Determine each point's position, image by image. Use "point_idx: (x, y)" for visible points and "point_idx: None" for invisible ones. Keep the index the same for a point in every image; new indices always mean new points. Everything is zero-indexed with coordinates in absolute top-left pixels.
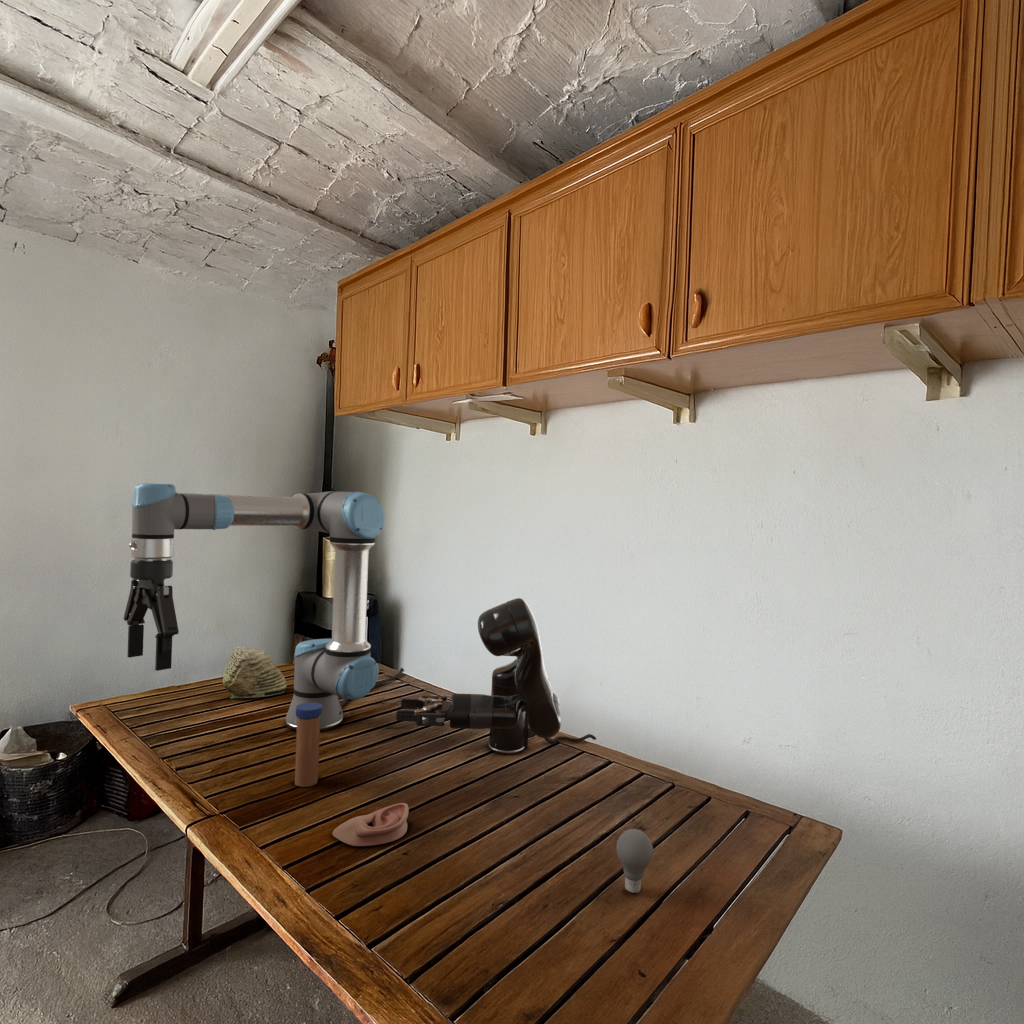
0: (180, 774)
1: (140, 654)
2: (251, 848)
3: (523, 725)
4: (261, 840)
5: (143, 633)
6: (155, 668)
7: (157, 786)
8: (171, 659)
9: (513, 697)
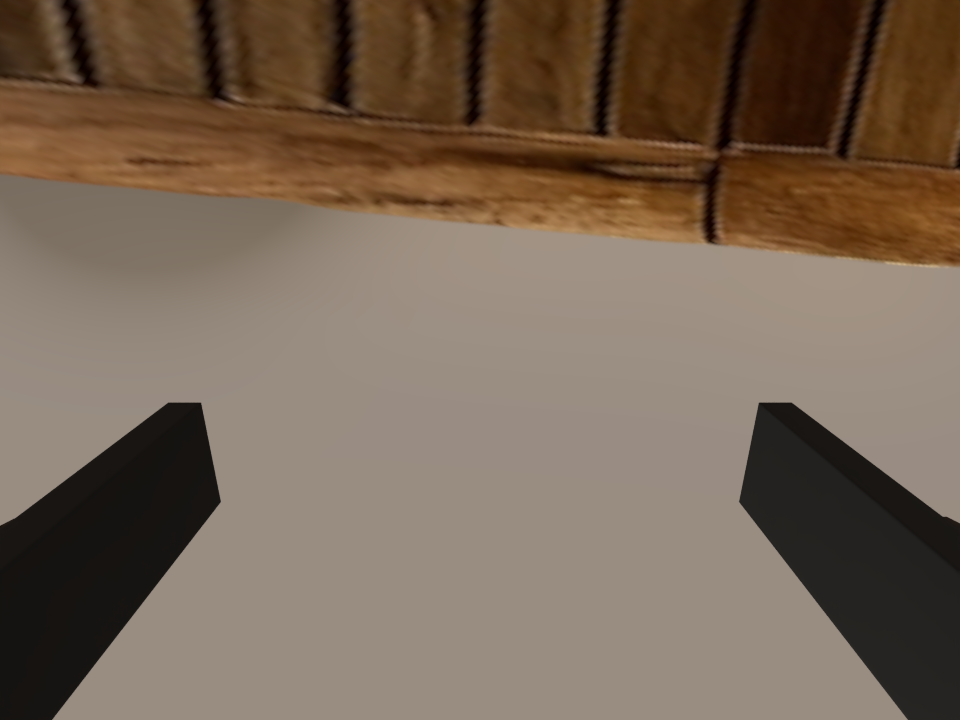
0: (388, 112)
1: (200, 427)
2: (941, 185)
3: None
4: (936, 146)
5: (42, 538)
6: (750, 510)
7: (427, 202)
8: (839, 440)
9: None
